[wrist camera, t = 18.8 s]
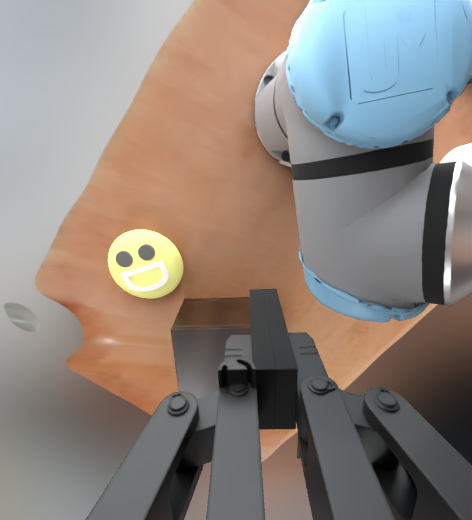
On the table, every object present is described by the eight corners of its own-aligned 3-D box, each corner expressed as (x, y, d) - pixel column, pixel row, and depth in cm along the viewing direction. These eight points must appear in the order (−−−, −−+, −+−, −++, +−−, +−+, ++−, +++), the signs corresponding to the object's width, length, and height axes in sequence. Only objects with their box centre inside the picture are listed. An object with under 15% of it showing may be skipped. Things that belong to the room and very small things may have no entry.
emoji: (192, 292, 44) (161, 222, 40) (125, 312, 46) (87, 247, 42) (196, 280, 48) (167, 215, 44) (133, 299, 50) (99, 239, 45)
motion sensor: (447, 209, 43) (490, 218, 35) (410, 181, 42) (446, 184, 34) (489, 162, 41) (543, 162, 33) (451, 131, 39) (499, 124, 32)
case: (262, 297, 48) (266, 327, 39) (262, 357, 52) (267, 398, 43) (184, 299, 49) (170, 329, 40) (190, 359, 53) (179, 399, 44)
